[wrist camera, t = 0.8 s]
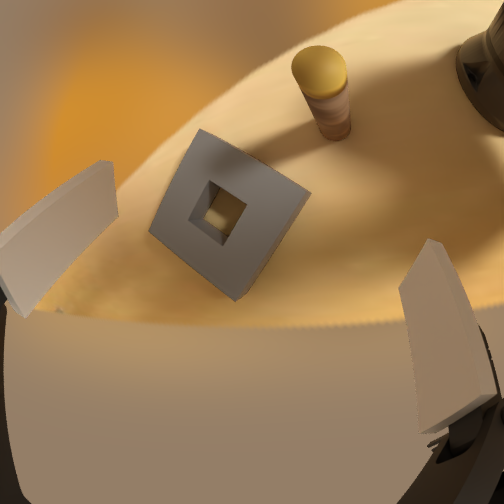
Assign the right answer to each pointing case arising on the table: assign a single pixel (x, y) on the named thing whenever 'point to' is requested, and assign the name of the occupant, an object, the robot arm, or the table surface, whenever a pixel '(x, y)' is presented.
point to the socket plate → (248, 226)
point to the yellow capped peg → (324, 89)
